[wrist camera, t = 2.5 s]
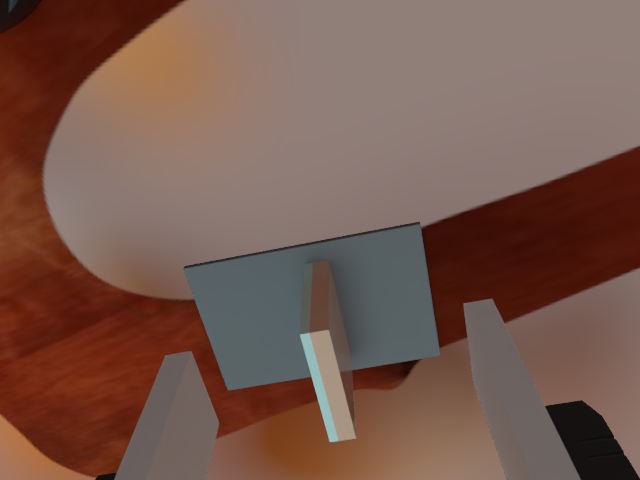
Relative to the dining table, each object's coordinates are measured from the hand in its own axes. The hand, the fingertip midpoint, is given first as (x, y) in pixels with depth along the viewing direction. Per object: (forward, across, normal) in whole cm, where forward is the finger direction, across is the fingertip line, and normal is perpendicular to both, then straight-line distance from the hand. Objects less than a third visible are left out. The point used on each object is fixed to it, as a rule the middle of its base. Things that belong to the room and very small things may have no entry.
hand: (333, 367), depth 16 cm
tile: (+25, -3, -14) cm, 29 cm away
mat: (+25, -4, -14) cm, 29 cm away
